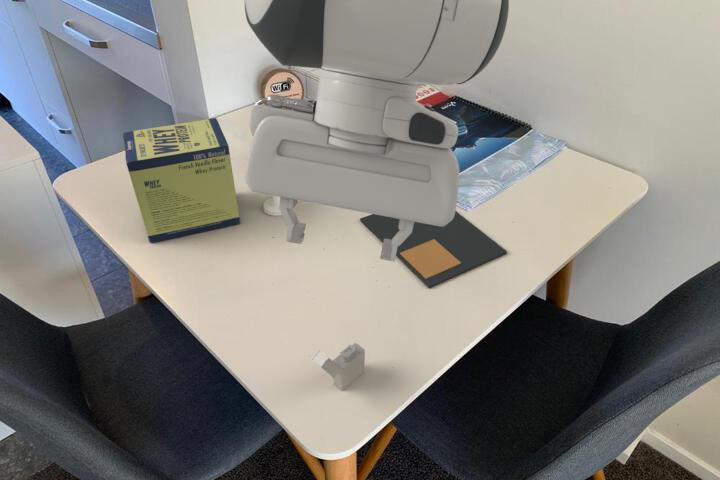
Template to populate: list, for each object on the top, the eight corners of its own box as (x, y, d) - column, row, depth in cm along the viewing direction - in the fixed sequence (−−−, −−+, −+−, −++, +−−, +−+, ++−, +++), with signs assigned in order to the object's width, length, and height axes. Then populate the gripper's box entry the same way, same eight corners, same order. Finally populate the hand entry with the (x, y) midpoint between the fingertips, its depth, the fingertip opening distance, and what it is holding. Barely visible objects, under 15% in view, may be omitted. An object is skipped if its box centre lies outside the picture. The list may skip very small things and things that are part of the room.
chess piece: (261, 202, 96) (255, 154, 90) (288, 198, 97) (284, 151, 91) (264, 217, 93) (258, 168, 86) (292, 213, 93) (288, 165, 87)
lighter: (355, 364, 68) (355, 322, 63) (365, 371, 67) (366, 330, 62) (314, 397, 64) (311, 355, 59) (324, 406, 63) (321, 364, 58)
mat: (506, 253, 86) (507, 250, 85) (428, 288, 79) (429, 285, 78) (432, 194, 99) (432, 191, 98) (360, 220, 92) (360, 217, 92)
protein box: (242, 223, 91) (229, 144, 81) (149, 244, 86) (123, 162, 76) (230, 192, 99) (217, 116, 89) (143, 210, 94) (119, 131, 84)
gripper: (243, 91, 45) (229, 240, 50) (476, 132, 45) (442, 280, 49) (262, 89, 51) (249, 222, 56) (468, 125, 51) (438, 258, 55)
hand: (341, 250), depth 52 cm, fingers open, 8 cm apart
